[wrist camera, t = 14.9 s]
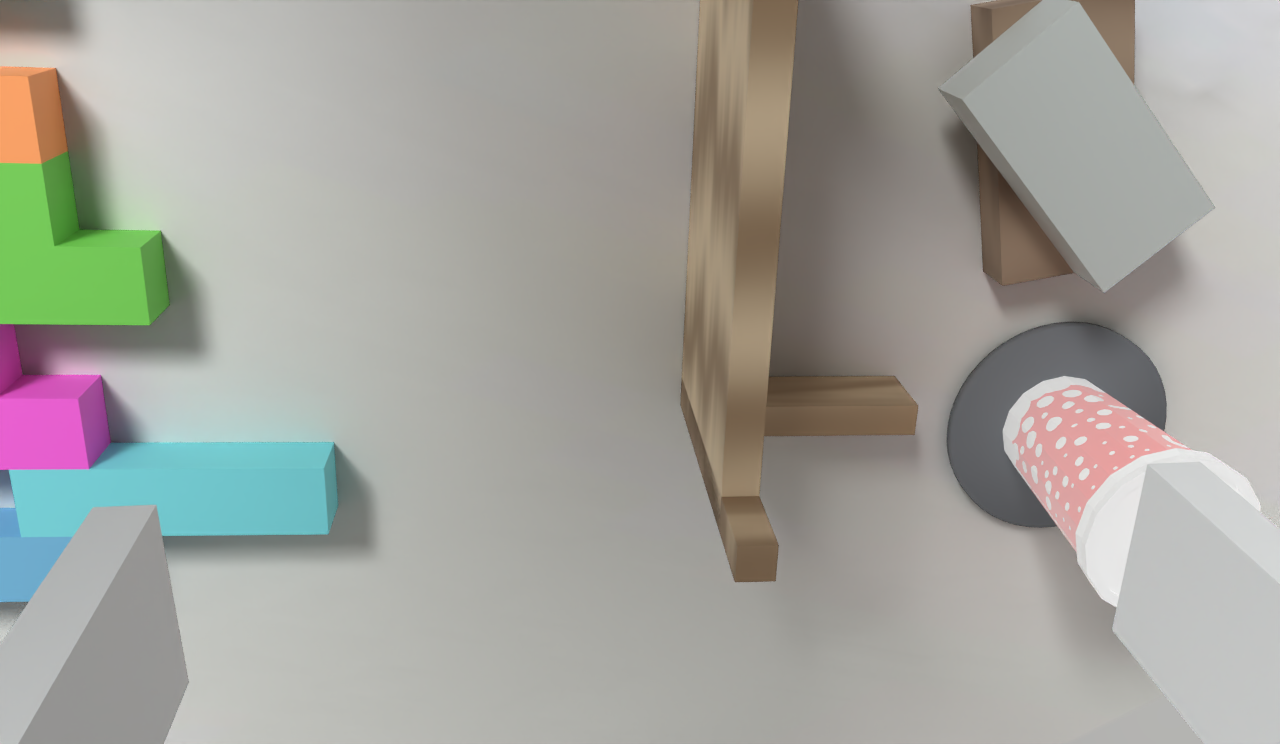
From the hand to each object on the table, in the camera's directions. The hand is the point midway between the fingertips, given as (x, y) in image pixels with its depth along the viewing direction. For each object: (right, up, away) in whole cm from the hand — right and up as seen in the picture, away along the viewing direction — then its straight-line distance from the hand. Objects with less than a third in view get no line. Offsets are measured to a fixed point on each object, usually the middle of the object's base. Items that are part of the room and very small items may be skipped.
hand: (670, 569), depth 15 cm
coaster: (+17, 0, +31) cm, 36 cm away
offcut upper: (+15, +11, +25) cm, 31 cm away
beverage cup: (+17, 0, +31) cm, 35 cm away
